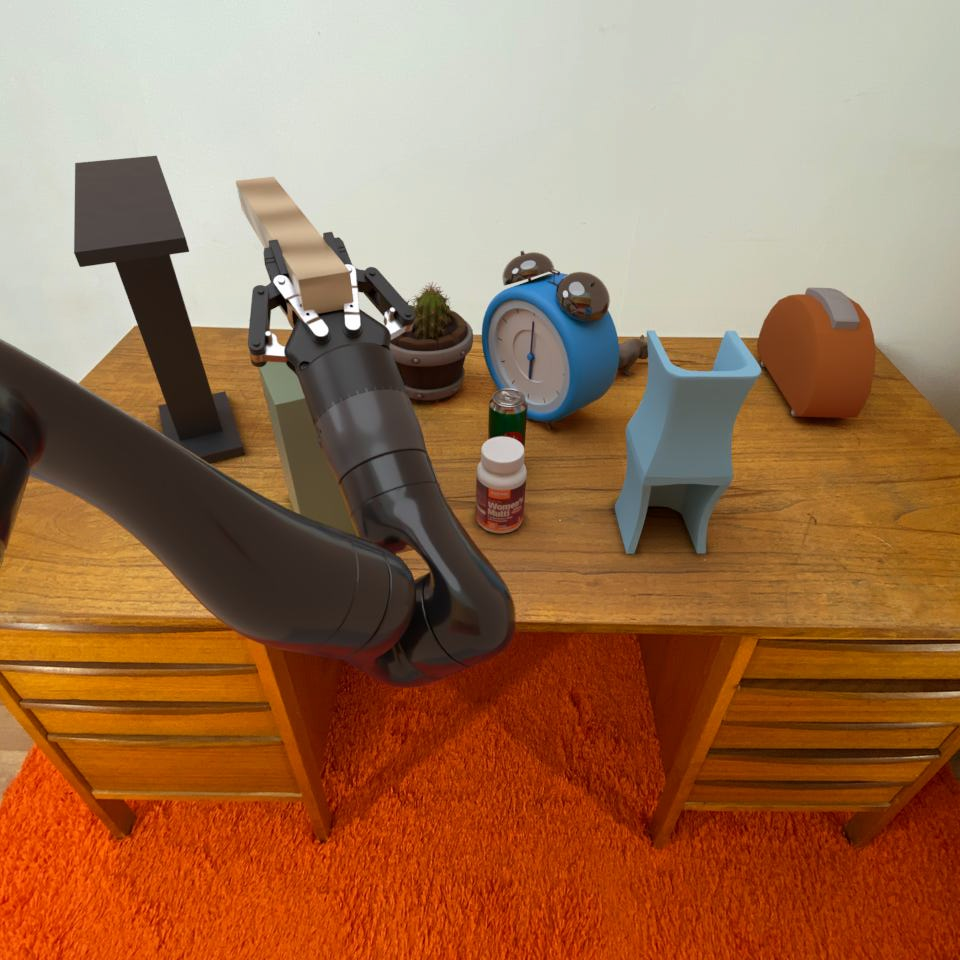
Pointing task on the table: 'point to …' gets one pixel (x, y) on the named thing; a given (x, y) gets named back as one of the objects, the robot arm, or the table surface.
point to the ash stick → (296, 245)
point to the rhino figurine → (631, 353)
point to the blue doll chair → (683, 438)
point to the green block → (302, 450)
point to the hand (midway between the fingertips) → (300, 243)
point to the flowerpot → (433, 349)
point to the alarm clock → (550, 338)
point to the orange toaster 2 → (819, 353)
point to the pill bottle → (501, 485)
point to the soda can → (508, 415)
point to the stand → (153, 292)
